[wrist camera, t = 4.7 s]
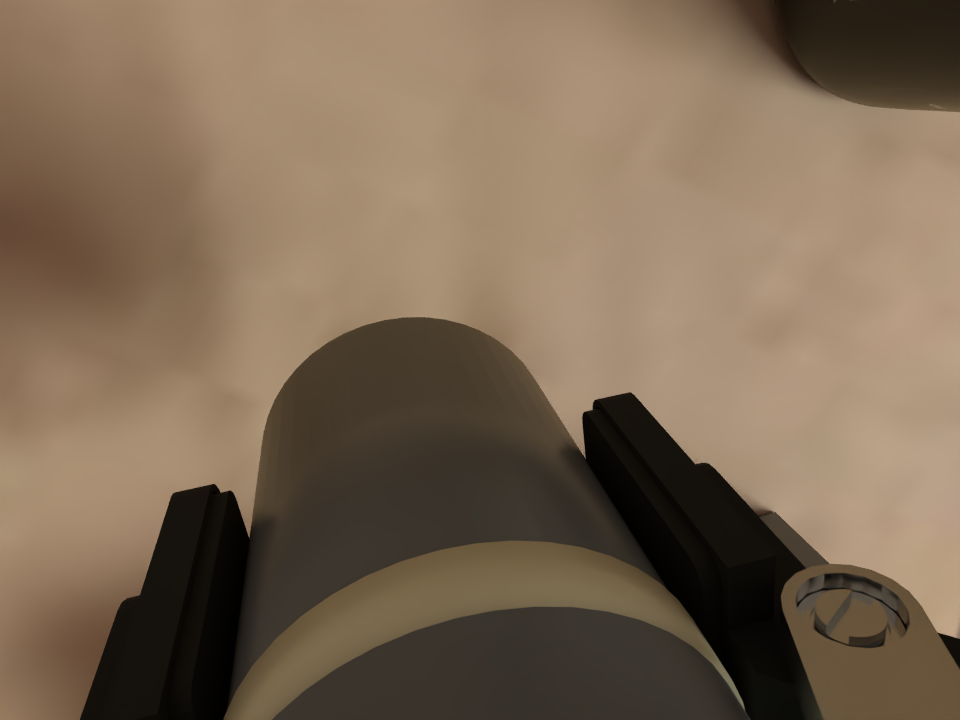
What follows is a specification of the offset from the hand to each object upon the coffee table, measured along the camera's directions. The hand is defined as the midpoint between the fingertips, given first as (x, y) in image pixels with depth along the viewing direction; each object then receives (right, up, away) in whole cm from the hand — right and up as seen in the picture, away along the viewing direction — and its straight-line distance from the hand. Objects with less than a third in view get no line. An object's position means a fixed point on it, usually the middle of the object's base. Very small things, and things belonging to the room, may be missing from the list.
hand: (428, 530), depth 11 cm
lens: (0, +1, +2) cm, 2 cm away
